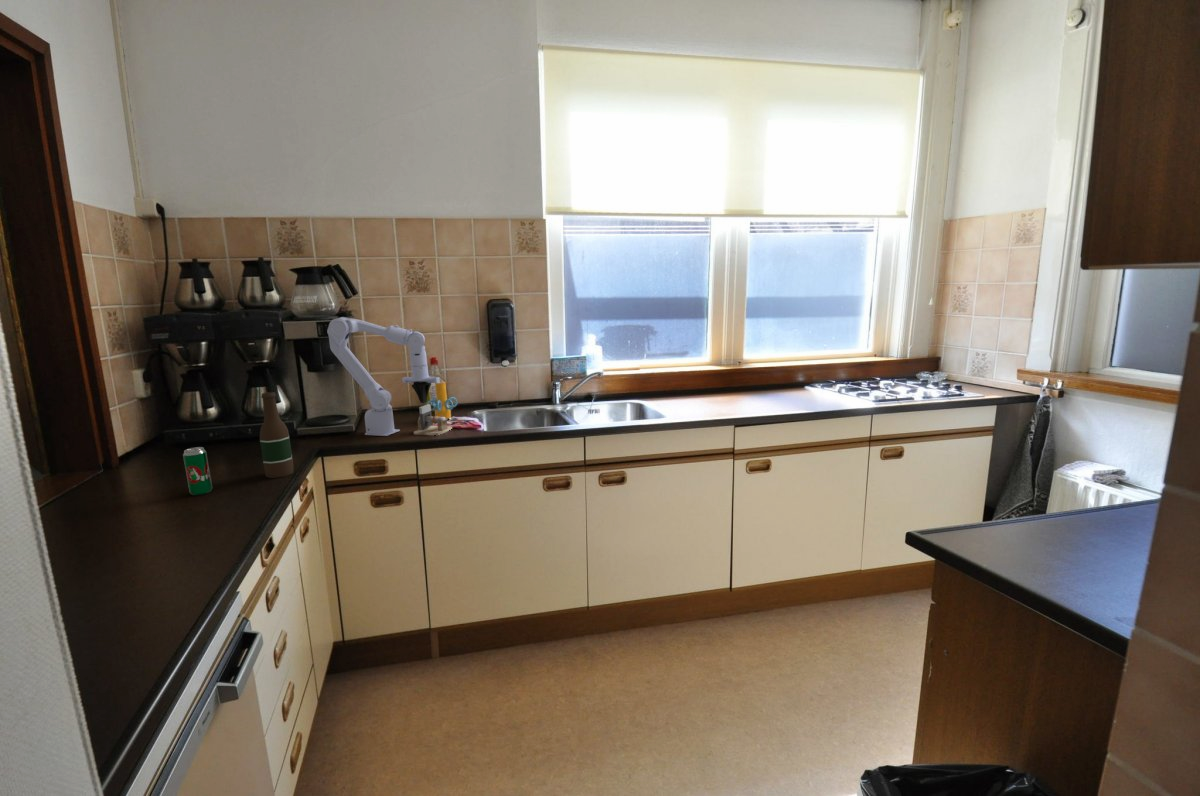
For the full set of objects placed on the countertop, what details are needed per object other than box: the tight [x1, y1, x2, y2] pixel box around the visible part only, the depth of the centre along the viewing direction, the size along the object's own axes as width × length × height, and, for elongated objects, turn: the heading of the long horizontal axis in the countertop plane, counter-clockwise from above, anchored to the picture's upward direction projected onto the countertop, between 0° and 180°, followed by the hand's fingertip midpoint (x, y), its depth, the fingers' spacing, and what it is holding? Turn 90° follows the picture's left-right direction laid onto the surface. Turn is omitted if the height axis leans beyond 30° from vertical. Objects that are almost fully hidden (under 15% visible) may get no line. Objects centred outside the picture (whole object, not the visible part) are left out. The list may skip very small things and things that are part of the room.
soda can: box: [182, 446, 213, 496], centre depth 155 cm, size 5×5×12 cm
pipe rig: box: [413, 415, 453, 437], centre depth 212 cm, size 10×9×6 cm
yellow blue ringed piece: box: [426, 381, 458, 418], centre depth 230 cm, size 12×10×15 cm
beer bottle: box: [259, 391, 294, 479], centre depth 167 cm, size 8×8×24 cm
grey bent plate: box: [418, 403, 434, 429], centre depth 212 cm, size 1×5×8 cm, turn 162°
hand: (423, 402), depth 214 cm, fingers closed
